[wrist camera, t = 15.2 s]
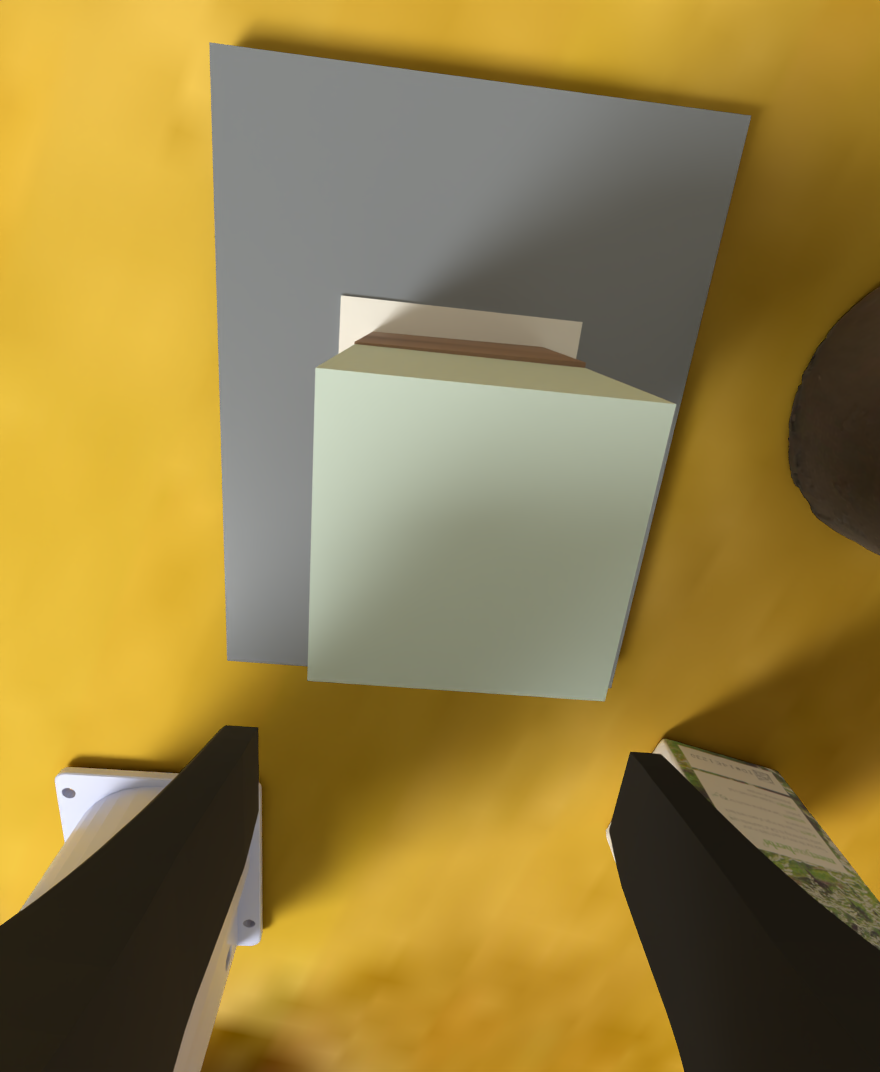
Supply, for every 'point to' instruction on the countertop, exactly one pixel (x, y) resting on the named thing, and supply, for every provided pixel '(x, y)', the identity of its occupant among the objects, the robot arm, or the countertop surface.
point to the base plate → (432, 262)
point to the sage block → (476, 521)
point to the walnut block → (470, 348)
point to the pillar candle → (842, 427)
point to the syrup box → (779, 831)
